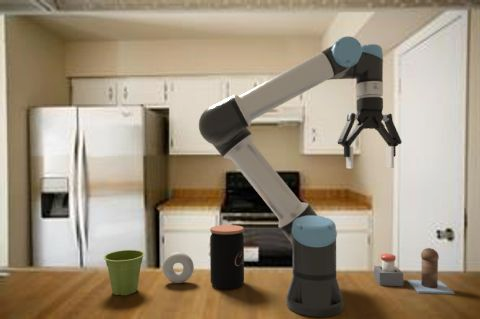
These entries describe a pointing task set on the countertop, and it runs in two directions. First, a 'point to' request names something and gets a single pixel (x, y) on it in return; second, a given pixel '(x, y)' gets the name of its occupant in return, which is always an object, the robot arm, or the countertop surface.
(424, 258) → the brown domed cylinder
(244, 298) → the countertop surface
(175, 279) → the donut
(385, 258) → the button plunger
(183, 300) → the countertop surface
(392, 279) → the button collar
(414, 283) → the tile
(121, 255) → the plant pot
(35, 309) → the countertop surface
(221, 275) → the coffee jar
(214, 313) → the countertop surface
